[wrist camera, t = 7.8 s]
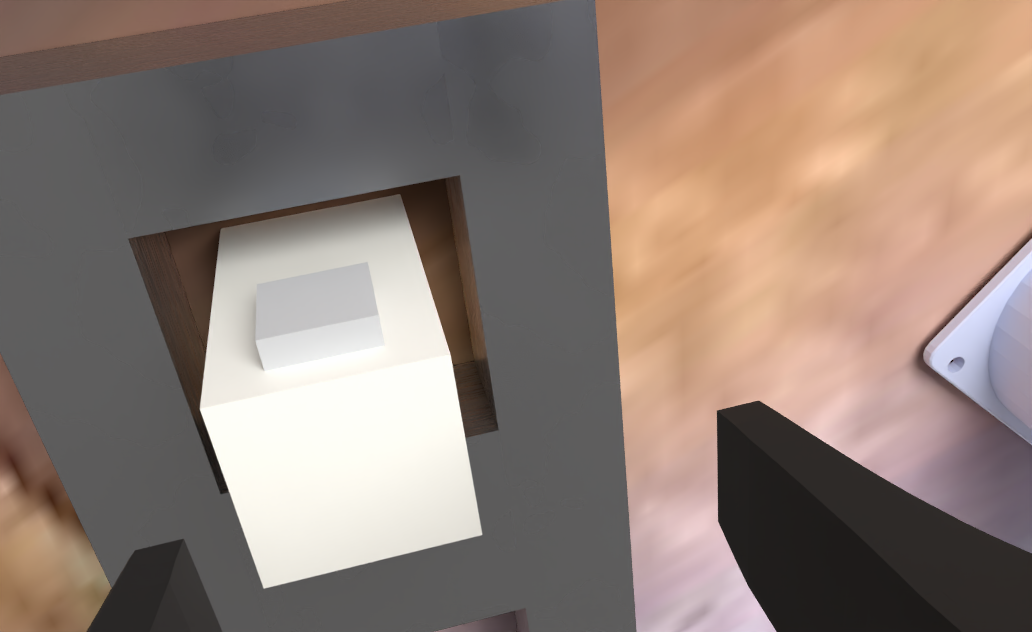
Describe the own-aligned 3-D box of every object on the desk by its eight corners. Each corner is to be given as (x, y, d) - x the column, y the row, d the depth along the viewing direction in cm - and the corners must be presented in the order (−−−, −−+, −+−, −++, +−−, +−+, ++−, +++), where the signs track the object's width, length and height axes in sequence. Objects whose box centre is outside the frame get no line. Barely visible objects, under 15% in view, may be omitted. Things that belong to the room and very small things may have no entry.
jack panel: (616, 706, 32) (646, 786, 29) (260, 804, 30) (259, 898, 27) (552, -33, 19) (594, -5, 17) (-58, 66, 18) (-114, 114, 15)
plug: (428, 342, 23) (482, 534, 17) (265, 377, 23) (263, 588, 17) (395, 169, 21) (444, 322, 15) (213, 203, 20) (188, 377, 14)
